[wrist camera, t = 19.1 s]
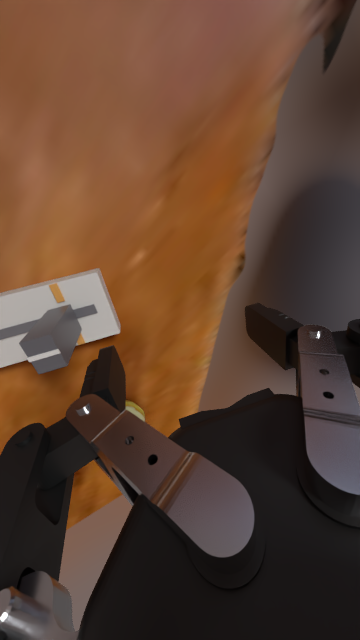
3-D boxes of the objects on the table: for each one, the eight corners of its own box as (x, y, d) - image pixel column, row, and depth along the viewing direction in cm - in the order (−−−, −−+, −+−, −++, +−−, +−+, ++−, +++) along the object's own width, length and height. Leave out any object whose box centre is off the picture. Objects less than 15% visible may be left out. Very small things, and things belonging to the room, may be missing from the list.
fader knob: (62, 332, 32) (37, 375, 23) (49, 307, 30) (17, 344, 21) (83, 326, 32) (67, 366, 23) (72, 301, 30) (50, 335, 21)
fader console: (-29, 367, 34) (-43, 380, 32) (-74, 311, 30) (-95, 321, 27) (120, 325, 37) (120, 333, 34) (99, 267, 33) (96, 272, 30)
